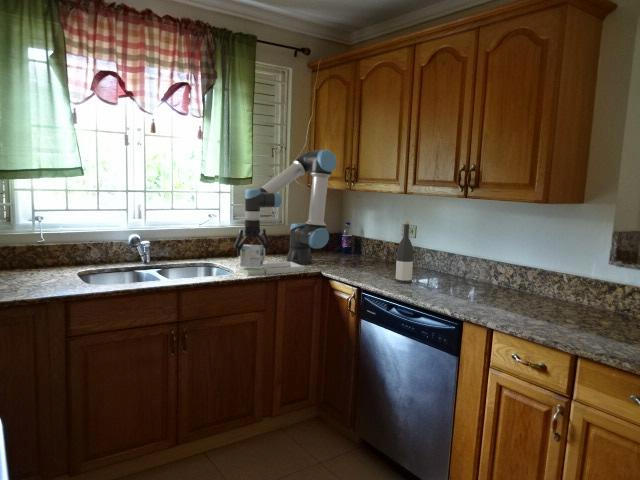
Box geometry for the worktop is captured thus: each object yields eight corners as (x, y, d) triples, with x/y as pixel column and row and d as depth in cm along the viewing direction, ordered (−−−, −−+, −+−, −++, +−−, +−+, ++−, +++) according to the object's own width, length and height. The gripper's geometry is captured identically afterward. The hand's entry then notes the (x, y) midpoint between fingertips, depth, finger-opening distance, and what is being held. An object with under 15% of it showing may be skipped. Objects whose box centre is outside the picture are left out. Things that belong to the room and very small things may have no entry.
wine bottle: (393, 282, 239) (396, 221, 235) (397, 279, 247) (400, 220, 243) (410, 284, 236) (413, 222, 233) (413, 281, 244) (416, 221, 240)
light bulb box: (263, 265, 255) (263, 244, 253) (260, 267, 248) (260, 246, 246) (243, 264, 256) (243, 244, 254) (239, 266, 249) (240, 245, 248)
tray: (290, 265, 274) (290, 261, 274) (304, 271, 261) (304, 266, 261) (253, 268, 263) (254, 264, 263) (266, 274, 249) (266, 269, 249)
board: (254, 269, 260) (254, 266, 259) (264, 274, 249) (264, 270, 249) (238, 271, 255) (238, 267, 255) (248, 275, 245) (248, 271, 244)
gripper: (270, 218, 258) (270, 258, 261) (226, 219, 245) (226, 261, 248) (277, 219, 252) (276, 261, 255) (232, 220, 239) (232, 264, 242)
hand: (251, 261), depth 251 cm, fingers closed on light bulb box, 12 cm apart
